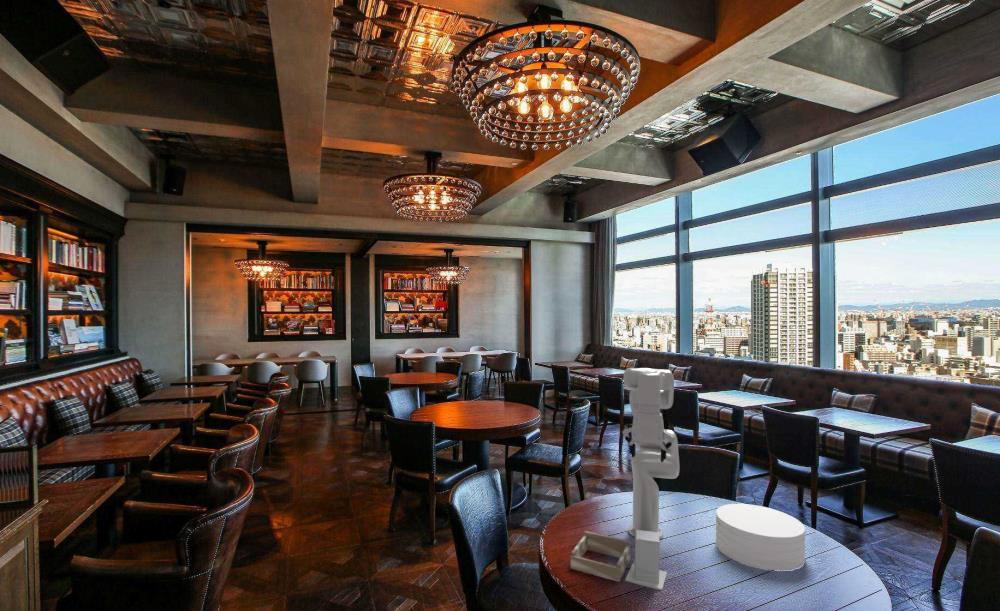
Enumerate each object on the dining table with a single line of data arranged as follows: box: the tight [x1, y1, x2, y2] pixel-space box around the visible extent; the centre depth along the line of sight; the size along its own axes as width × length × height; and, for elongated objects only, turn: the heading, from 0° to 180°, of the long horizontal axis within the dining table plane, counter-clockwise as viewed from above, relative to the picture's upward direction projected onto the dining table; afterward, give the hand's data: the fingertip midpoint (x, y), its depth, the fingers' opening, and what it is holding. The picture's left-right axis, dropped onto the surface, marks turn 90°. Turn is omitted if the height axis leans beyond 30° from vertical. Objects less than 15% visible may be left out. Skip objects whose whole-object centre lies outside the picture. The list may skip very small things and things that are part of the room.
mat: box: [625, 562, 668, 591], centre depth 153 cm, size 11×11×1 cm
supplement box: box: [634, 530, 661, 583], centre depth 153 cm, size 7×7×13 cm
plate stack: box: [715, 503, 806, 571], centre depth 172 cm, size 28×28×12 cm
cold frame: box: [570, 530, 632, 583], centre depth 161 cm, size 16×16×6 cm
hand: (647, 458), depth 163 cm, fingers open, 9 cm apart
